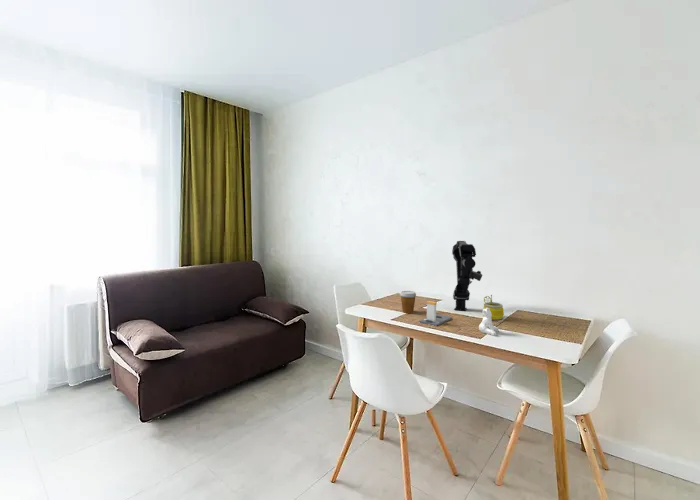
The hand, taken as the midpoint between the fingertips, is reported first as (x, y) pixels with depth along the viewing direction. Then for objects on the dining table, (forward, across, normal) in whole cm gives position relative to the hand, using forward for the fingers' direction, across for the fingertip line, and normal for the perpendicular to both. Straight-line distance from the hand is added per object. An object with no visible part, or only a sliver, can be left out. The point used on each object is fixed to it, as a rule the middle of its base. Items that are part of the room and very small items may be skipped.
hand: (465, 294), depth 191 cm
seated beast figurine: (+13, -23, -14) cm, 30 cm away
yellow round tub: (+13, +5, -14) cm, 20 cm away
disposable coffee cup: (+13, -5, +32) cm, 35 cm away
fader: (+12, -20, +14) cm, 27 cm away
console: (+13, -15, +13) cm, 24 cm away
